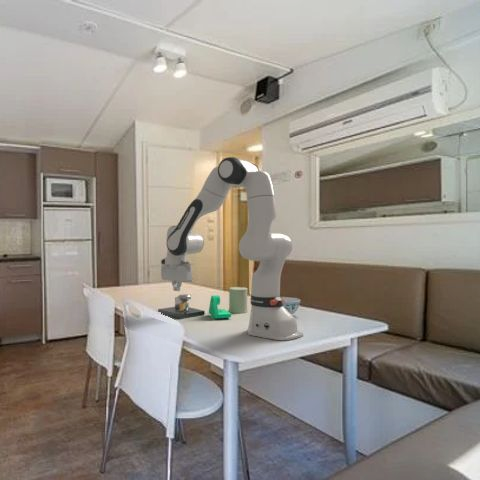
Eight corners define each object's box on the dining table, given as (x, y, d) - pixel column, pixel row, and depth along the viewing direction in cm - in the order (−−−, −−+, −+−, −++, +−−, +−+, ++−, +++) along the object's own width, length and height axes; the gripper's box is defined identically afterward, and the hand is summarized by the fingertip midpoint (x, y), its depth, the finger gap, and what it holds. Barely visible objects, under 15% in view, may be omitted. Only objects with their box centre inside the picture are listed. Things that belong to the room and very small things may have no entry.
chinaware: (276, 311, 204) (276, 296, 204) (305, 315, 197) (305, 298, 197) (262, 316, 192) (262, 300, 191) (292, 320, 184) (292, 303, 184)
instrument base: (204, 315, 194) (204, 298, 194) (180, 319, 185) (180, 301, 185) (182, 309, 207) (182, 294, 207) (158, 313, 198) (158, 297, 198)
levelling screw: (180, 309, 197) (180, 294, 197) (191, 309, 197) (191, 294, 196) (175, 313, 185) (175, 298, 185) (187, 314, 185) (187, 298, 185)
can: (250, 310, 206) (250, 286, 206) (242, 314, 198) (243, 289, 198) (233, 309, 210) (234, 285, 210) (225, 312, 202) (225, 287, 201)
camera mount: (231, 319, 186) (231, 296, 185) (215, 320, 183) (215, 297, 183) (224, 314, 197) (224, 293, 197) (208, 315, 195) (209, 293, 194)
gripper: (195, 261, 185) (196, 292, 185) (169, 260, 199) (170, 288, 199) (184, 261, 180) (184, 293, 180) (158, 260, 195) (158, 289, 195)
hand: (176, 290), depth 190 cm, fingers closed
